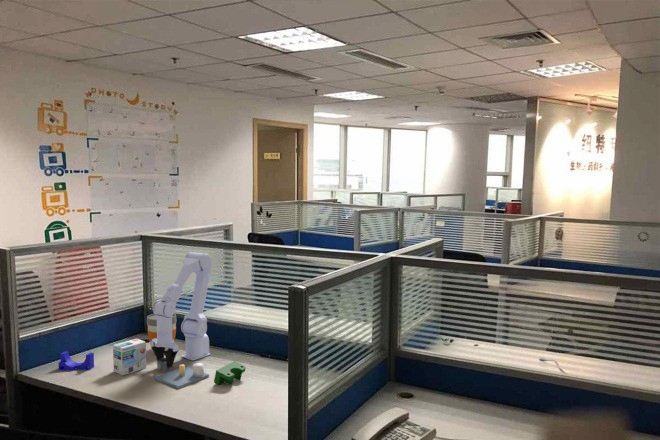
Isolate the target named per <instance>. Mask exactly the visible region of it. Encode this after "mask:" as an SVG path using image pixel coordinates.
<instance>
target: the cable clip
mask: <svg viewBox="0 0 660 440" xmlns="http://www.w3.org/2000/svg"><path fill="white" fill-rule="evenodd" d="M59 357H60V361H59V362H58V363H57V364H58V366H57V367H58V371H75V370H86V371H87V370H89V371H90V370H92V369H93V368H95V353H94V352H91V351H90V352H89V353H87V354H85V359H84V361H83V362H77V361H75V360H73V359H72V358H71V356H70V353H69V351H63V352H61V353H60V354H59Z"/></svg>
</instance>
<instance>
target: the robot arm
mask: <svg viewBox="0 0 660 440" xmlns="http://www.w3.org/2000/svg"><path fill="white" fill-rule="evenodd" d="M212 262H213V259H212V257H211V255H210V254H209V253H208V252H207V253H206V252H204V253H203V252H194V251H188V252H187V253H186V254H185V256H184V258H183V260H182V264H183V265H182V267H181V269H180V270H179V273H178V275H177V277H176V279H175V281H174V283H172V284H170V285H169V286H168V287H167V288H166V291H165V293H164V294H163V296H162V298H161V299H160V300H159V301H157V302H156V303H155V305H154V306H153V309H152V312H153V314H155V316H156V320H157V339H156V338H155V339H152V344H153V345H154V344H155V346H153V347H152V350H153V354H154V355H155V356H154V357H155V359H156V362H157V361H158V359H161V358H166V362H167V368H170V367H173V368H174V362H175V360H176V356H177V354H178V353H179V349H180V348H179V345H178V344H176V343H175V342H173V341H172V315H173V314H176V308H177V303H178V300H179V299H180V297H181V295H182V294H183V286H184V285H185V284H186V282H187V281H188V279H190V277H191V275H192V273H195V275H196V277H195V282H194V287H193V291H192V292H193V293H192V298H191V303H190V309H189V312H188V313H186V314H185V315H184V316H183V317H184V318H183V321H182V322H181V325H180V330H181V332H182V333H183V335H184V336H183V337H185V343H184V344H185V354H182V355H181V358H184V359H187V360H189V361H196V360H200V359H202V358H205V357H208V356H210V355H211V353H210V339H209V336H208V335H207V330H208V324H207V323H208V319H207V317H206V316H205V314H204V310H205V304H206V299H207V293H208V292H207V291H208V288H209V283H210V277H211V276H210V275H211V268H212ZM165 348H167V349H168V350H166V351H165ZM152 350H151V351H152Z"/></svg>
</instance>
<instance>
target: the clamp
mask: <svg viewBox="0 0 660 440" xmlns="http://www.w3.org/2000/svg"><path fill="white" fill-rule="evenodd" d="M245 372H246V365H243V364H241V362H240V363H239V362H238V361H236V360H233V361H232V362H229V363H228V364H226V365H224V366H222V367H220V368H218V369H216V370H215V374H214V378H213V379H214V380H213V383H214V384H215V385H217V386H221V385H223V384H224V383H225V384H226V385H229V386H233V384H234V381H235V380H237V381H239V382H240V381H241V379H242V375H243V373H245Z"/></svg>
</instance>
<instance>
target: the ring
mask: <svg viewBox="0 0 660 440" xmlns="http://www.w3.org/2000/svg"><path fill="white" fill-rule="evenodd" d="M156 362H157V371H158V372H170V371H173V370H174V366H173V367H170V368H167V362H166V357H164V358H161V359H158V361H157V360H156Z"/></svg>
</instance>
